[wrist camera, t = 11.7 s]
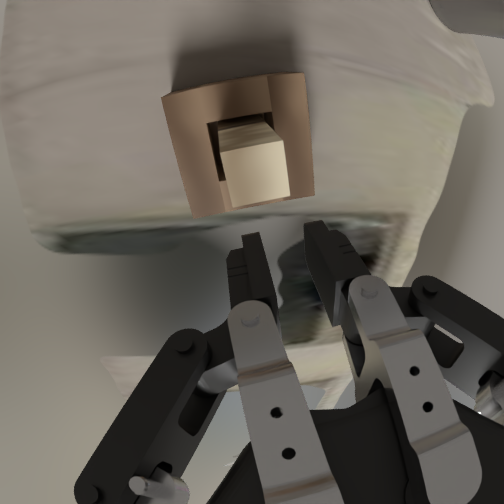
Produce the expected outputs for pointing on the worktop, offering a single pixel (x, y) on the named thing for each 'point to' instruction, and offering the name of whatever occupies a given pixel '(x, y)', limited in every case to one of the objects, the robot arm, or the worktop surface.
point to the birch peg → (252, 160)
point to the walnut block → (230, 106)
